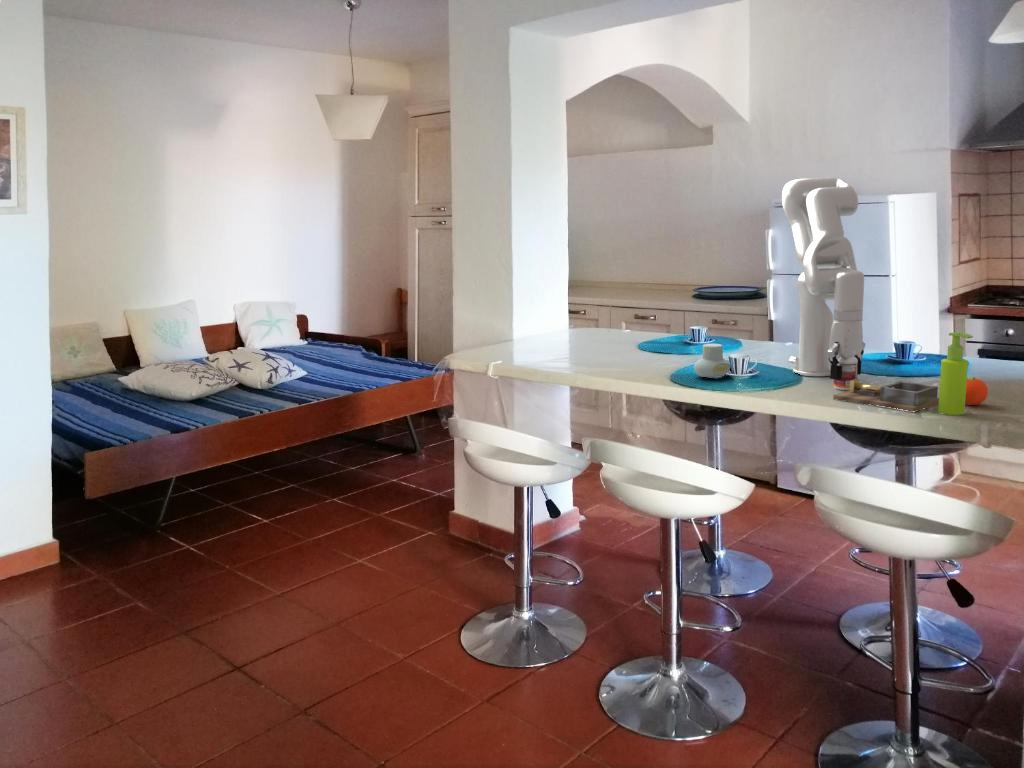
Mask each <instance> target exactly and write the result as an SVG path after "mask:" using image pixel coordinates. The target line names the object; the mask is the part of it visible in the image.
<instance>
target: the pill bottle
mask: <svg viewBox="0 0 1024 768" xmlns="http://www.w3.org/2000/svg"><path fill="white" fill-rule="evenodd" d="M854 355H855V351H853V352H852V354H851V356H850V357H848V358H844V359H843V361H842V363H841V365H840V366H842V379H841V380H836V379H833V388H834V389H836V390H838V391H839V390H841V391H848V390H850V380H854V379H858V375H857V370H858V360H857V358H856V357H854ZM837 360H839V358H837Z"/></svg>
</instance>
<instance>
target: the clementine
mask: <svg viewBox="0 0 1024 768" xmlns="http://www.w3.org/2000/svg"><path fill="white" fill-rule="evenodd" d="M988 394H989V388H988V386H987V384H986V383H985V381H983V380H982V379H980V378H975V377H972V378H971V377H970V378H969V377H967V385H966V399H965V405H968V406H977V405H980V404H982V403H984V402H985V401H986V399H987V398H988V396H989V395H988Z"/></svg>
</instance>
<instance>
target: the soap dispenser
mask: <svg viewBox="0 0 1024 768" xmlns="http://www.w3.org/2000/svg"><path fill="white" fill-rule="evenodd" d="M948 336H950V337H951V344H950V345H948V346H947V355H946V356H947V357H946V358H943V359H941V360H940V363H941V364H940V374H939V375H940V376H939V393H938V398H939V404H938V407H937V408H938V410H937V412H938V413H939V414H941V413H943V414H942V415H945V414H948V415H947V416H959V415H958V414H963V413H964V412H965V411H966V404H965V399H966V385H967V378H968V370H969V369H968V368H969V367H968V366H969V360H966V359H964V358H963V357H964V346H963V345H961V344H960V342H961V338H964V339H973V338H974V336H973V335H971V334H969V333H966V332H948ZM964 414H965V413H964ZM964 414H963V415H964Z"/></svg>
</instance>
